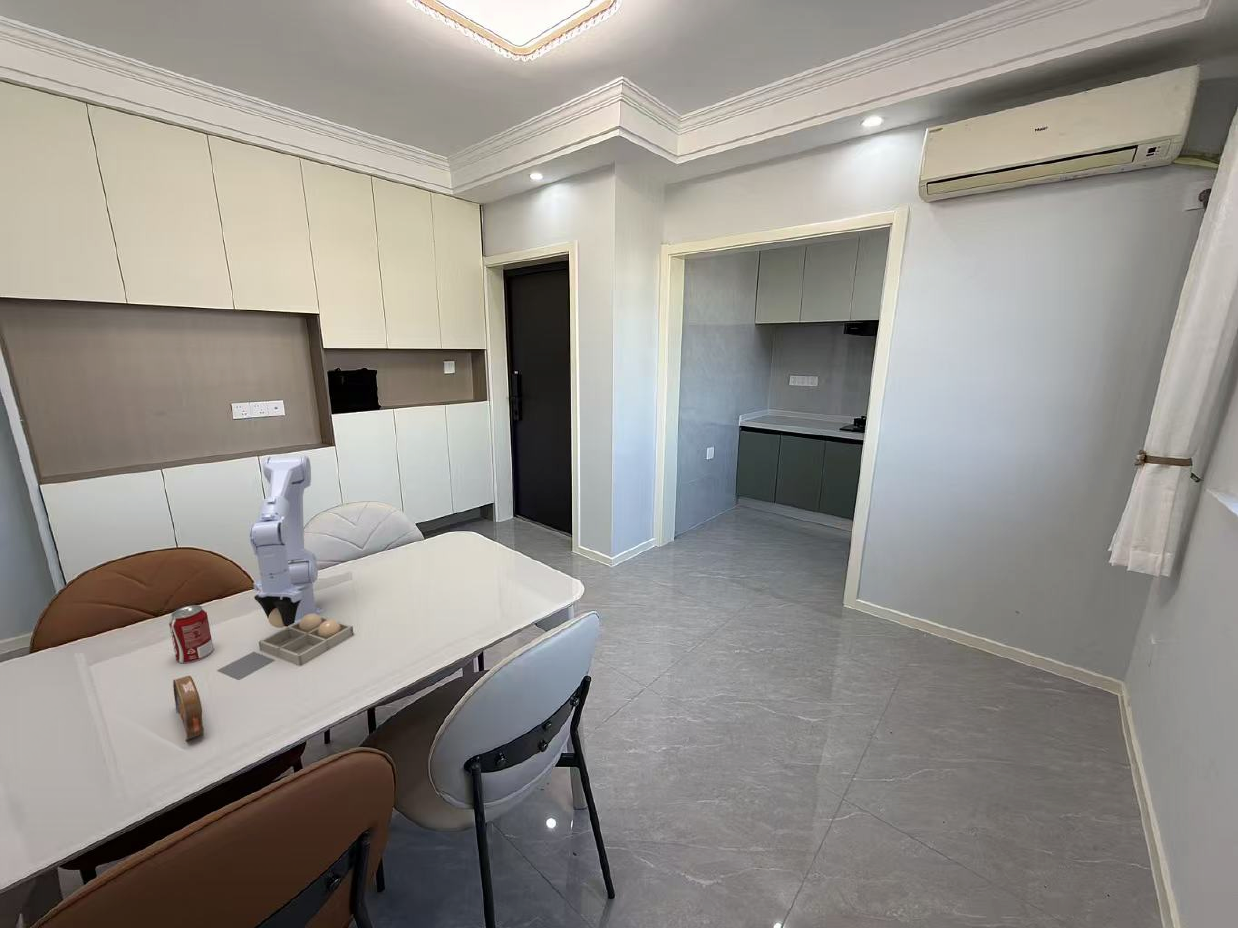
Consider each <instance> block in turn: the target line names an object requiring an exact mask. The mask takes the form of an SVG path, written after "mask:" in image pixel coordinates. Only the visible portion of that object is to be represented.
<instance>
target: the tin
mask: <svg viewBox="0 0 1238 928" xmlns="http://www.w3.org/2000/svg"><path fill="white" fill-rule="evenodd" d="M172 681H173V682H172V685H173V687H172V689H173V696H174V702H175V704H174V705H175V710H176V714H179V715H180V718H181V720H182V724H183V726H184V730H185V733H186V738H185V741H189V740H191V739H193V738H196V737H198V736H200V735H202V734H203V733H204V730H205V727H204V725H203V717H202V715H203V708H202V702H201V698H200V694H199V692H198V689H197V686H196V683H195V681H194V679H193V676H190V675H186V676H183V677H180V678H177V679H175V678H174V679H173V680H172Z"/></svg>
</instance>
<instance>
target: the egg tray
mask: <svg viewBox="0 0 1238 928" xmlns="http://www.w3.org/2000/svg"><path fill="white" fill-rule="evenodd" d="M319 616H320V617H321V619H322V623H323V622H324V621H326V620H333V619H331V618H328V617H325V616H323V615H319ZM336 621H337V620H336ZM296 622H297V621H296ZM337 622H338V623H339V624H340V627H341V630H340V632H339V633H337V634H335V635H333V636H332V637H330V638H328V639H324V638H321V637H319V636H318V628H319V627H317V628H316V629H314V630H312V631H310V632H308V633H307V632H304V631H301V630H300V628H299V623H300V621H299V622H297V623H294V624H292V625H290V626H288V627H285V628H283V629H282V630H280V631H278V632H275V633H273V634H271V635H269V636H267V637H265V638H263V639H261V640H259V641H258V647H259V651H260V652H261V653H265V654H268V655H271V656H273V657H276V658H278V659H281V660H284V661H286V662H288V663H291V664H293V665H296V666H299V667H301V666H302V665H304V664H306V663H308V662H309V661H311V660H312V659H315V658H316V657H319V656H320V655H321V654H323V653H326V652H327V651H328V650H330V649H331V648H333V647H335V646H337V645H339V644H340V643H342V642H344V641H346V640H347V639H349V638H350V637H352V636H354V626H353V625H350V624H347V623H343V622H341V621H337ZM289 638H291V639H293V640H291V641H289V642H287V643H285V644H283V645H281V646H277V645H276V644H279V643H281V642H283V641H284V640H286V639H289ZM308 644H309V645H311V647H310V648H308V649H307V650H305V651H303V652H301V653H296V652H295V651H297V650H299V649H300V648H302V647H304V646H307V645H308Z"/></svg>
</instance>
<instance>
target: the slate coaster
mask: <svg viewBox="0 0 1238 928" xmlns="http://www.w3.org/2000/svg"><path fill="white" fill-rule="evenodd" d="M275 661H276V659H274V658H271V657H269V656H266V655H263V654H261V653H259V652H257V651H252V652H250V653H248V654H247V655H244V656H242V657H240V658H237V660H234V661H232V662H231V663H228V664H227V665H224V666H222V667H220V668H219V669H216V671H217V672H218V673H221V674H223V675H226V676H228V677H230V678H232V679H235V680H238V681H240V680H242V679H243V678H245V677H247V676H250V675H252V674H253V673H255V672H257V671H259V670H260V669H262V668H264V667H267V666H268V665H269V664H272V663H273V662H275Z"/></svg>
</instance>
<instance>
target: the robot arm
mask: <svg viewBox="0 0 1238 928" xmlns="http://www.w3.org/2000/svg"><path fill="white" fill-rule="evenodd" d="M262 468H263V474H264V475H263V476H264V477H265V479H266V480H267V482H268V484H269V490H268V497H266V498H264V499H263V500H262V502H261V505H260V508H259V512H258V517H257V520H256V522H255V523H254V524H252V525H251V526H250V528H249V542H250V545H251V547H252V549H253V553H254V556H256V557H257V564H258V570H259V576H260V579H259V580H258V581H254V582H253V590H254V591H257V594H256V595H254V596H253V597H254V600H255V601H256V602H257V603H258V604H259V605H260V607H261V608H262V610H263V612H264V613H265V616H266V617H267V619H268V620H269V615H270V613H271V611H272V610H273V609H275V608H277V609H278V610H279V612H280V615H281V618H282V622H283V624H284V626H285V628H287V627H289V626H291V625H293V624H295V623H297V622H299V621H301V619H302V618H303V617H304V616H306V615H308V614H317V615H318V614H319V613H322V612H324V609H323V608H319V607H316V601H315V593H314V592H315V591H314V584H315V582H316V581H317V579H318V576H319V569H318V568H319V567H318V564H317V556H316V555H315V553H313V552H312V551H310V550H307V549H306V548H305V535H304V534H305V533H304V532H305V529H304V528H305V527H304V492H305V489H307V488H308V487H310V486H311V482H312V472H311V469H312V466H311V462H310V458H309V457H308V456H307V455H306V454H304V455H299V456H296V455H295V456H275V457H270V456H268V457H266V458H265V459H264V461H263V465H262Z"/></svg>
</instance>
